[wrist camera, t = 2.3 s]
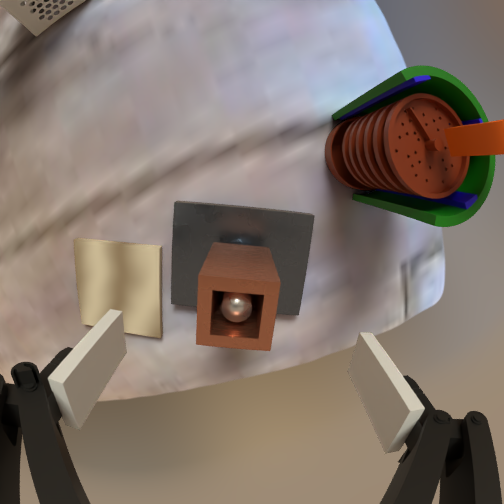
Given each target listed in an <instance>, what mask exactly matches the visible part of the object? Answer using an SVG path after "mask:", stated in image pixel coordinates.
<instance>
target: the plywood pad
mask: <svg viewBox="0 0 504 504" xmlns="http://www.w3.org/2000/svg"><path fill="white" fill-rule="evenodd" d="M74 255H75V269H76V281H77V290H78V299H79V307H80V314H81V320H82V324H86V325H90V326H95V325H96V324H97V323H98V322H99V320H100V319H101V318H102V317H103V316H104V315H105V314H106V313H107V312H108V311H109V310H110V309H113V310H118V311H122V312H123V324H124V332H126V333H132V334H138V335H144V336H150V337H156V338H161V336H162V334H163V329H162V246H157V245H146V244H136V243H125V242H115V241H104V240H94V239H84V238H77V239H74Z"/></svg>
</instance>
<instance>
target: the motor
mask: <svg viewBox="0 0 504 504" xmlns="http://www.w3.org/2000/svg"><path fill="white" fill-rule="evenodd" d="M354 115H360V117H353V118H350V117H352V116H354ZM332 117H333V118H334V120H336V119H338V118H340V120H343V119H346V118H350V119H348V120H346V121H344V122H342V123H340V124H339V125H337V126H336V127H335V128H334V129H333V130H332V131H331V133H330V134H329V136H328V138H327V141H326V145H325V158H326V162H327V165H328V168H329V170H330V171H331V173H332V174H333V176H334V177H335V178H336V179H337V180H338V181H339V182H340V183H342V184H343V185H345V186H347V187H350V188H354V189H360V190H375V191H373V192H371V193H368V194H353V198H352V200H355V201H358V202H362V203H365V204H368V205H372V206H375V207H378V208H382V209H385V210H388V211H391V212H394V213H398V214H401V215H404V216H407V217H410V218H413V219H416V220H419V221H422V222H425V223H428V224H431V225H433V226H438V227H450V226H455V225H458V224H460V223H463V222H465V221H466V220H468V219H469V218H471V217H472V216H473V215H474V214H475V213H476V212H477V211H478V210H479V209H480V207H481V206H482V204H483V203H484V201H485V200H486V198H487V196H488V193H489V191H490V188H491V185H492V182H493V177H494V171H495V155H498V154H504V120H497V121H492V122H488V119H487V117H486V115H485V113H484V111H483V109H482V107H481V105H480V103H479V102H478V101H477V99H476V97H475V96H474V95H473V94H472V93H471V91H470V90H469V89H468V88H467V87H466V86H465V85H464V84H463V83H462V82H461V81H460V80H458V79H457V78H456V77H454V76H453V75H451V74H449V73H447V72H445V71H443V70H441V69H438V68H435V67H431V66H414V67H409V68H406V69H404V70H402V71H400V72H398V73H397V74H395V75H393V76H392V77H390V78H388V79H387V80H385V81H384V82H382V83H380V84H379V85H377V86H376V87H374V88H372V89H371V90H369V91H368V92H366V93H365V94H363V95H361V96H360V97H358V98H357V99H355V100H354V101H352V102H351V103H349V104H348V105H346V106H345V107H343V108H342V109H340V110H339V111H337V112H336V113H334V114H333V115H332Z"/></svg>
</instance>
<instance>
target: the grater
mask: <svg viewBox="0 0 504 504" xmlns="http://www.w3.org/2000/svg"><path fill="white" fill-rule="evenodd" d="M25 1H26V4H25ZM33 1H34V2H35V4H34V5H33ZM52 1H53V0H49V1H48V2H44V0H39V1H37V0H0V5H1V6H2V7H3V8H4V9H5V10H6V11H8V12H9V13H10V14H11V15H12V16H13V17H14V18H16V19H17V20H18V21H19V22H20V23H21V24H22V25H24V26H25V27H26V28H27V29H28V30H29V31H30V32H31V33H33V34H34V35H35V36H36V37H37V36H38V35H39V34H40V33H42V32H43V31H44V30H45V29H47V28H48V27H49V26H50V25H52V24H53V23H54V22H56V21H57V20H58V19H60V18H61V17H62V16H64V15H65V14H67V13H68V12H69V11H71V10H72V9H74V8H75V7H77V6H78V5H80V4H81V3H83V2H84V1H86V0H65V3H63V4H59V2H60V1H61V0H58V2H56V3H53V2H52ZM69 1H73V4H71V5H68V4H67V3H68V2H69ZM39 3H43V6H42V7H40V8H37V5H38V4H39ZM47 4H51V7H50V8H46V7H45V6H46V5H47ZM54 5H58V8H57V9H53V8H52V7H53V6H54ZM64 5H66V6H67V7H66V9H64V10H61V7H62V6H64ZM34 8H35V9H36V11H35V12H34V13H33V9H34ZM41 9H44V10H45V11H44V12H43V13H41V14H40V13H39V10H41ZM47 10H51V13H50V14H46V11H47ZM57 10H58V11H60V12H59V14H57V15H54V12H55V11H57ZM41 15H45V18H44V19H41V20H40V19H39V17H40V16H41ZM51 15H52V16H53V18H52V19H51V20H48V19H47V18H48V16H51Z"/></svg>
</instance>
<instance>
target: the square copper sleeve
mask: <svg viewBox="0 0 504 504" xmlns="http://www.w3.org/2000/svg"><path fill="white" fill-rule="evenodd" d="M280 284H281V282H280V279H279V276H278V273H277V270H276V267H275V264H274V261H273V258H272V255H271V252H270V249H269V247H260V246H250V245H239V244H228V243H217V242H213V244H212V247H211V249H210V251H209V253H208V255H207V257H206V260H205V262H204V264H203V266H202V268H201V270H200V273H199V275H198V297H197V330H196V344H197V345H205V346H215V347H225V348H236V349H249V350H264V351H270V349H271V343H272V337H273V331H274V324H275V318H276V311H277V304H278V298H279V291H280ZM224 291H226V292H237V293H248V294H251V305H252V311H251V314H250V316H249V317H248V318H247V319H246V320H244V321H241V322H232V321H230V320H228V319H226V318H225V316H224V315H223V313H222V302H223V296H224Z"/></svg>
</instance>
